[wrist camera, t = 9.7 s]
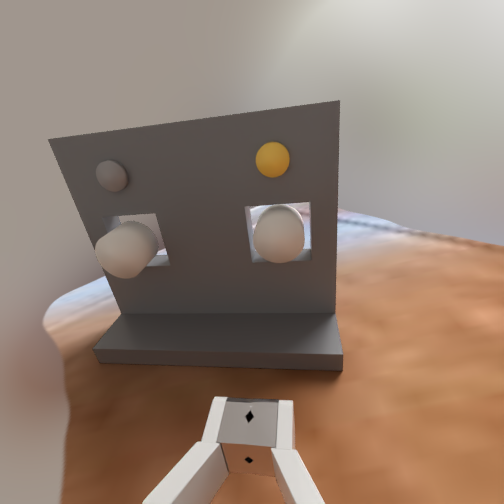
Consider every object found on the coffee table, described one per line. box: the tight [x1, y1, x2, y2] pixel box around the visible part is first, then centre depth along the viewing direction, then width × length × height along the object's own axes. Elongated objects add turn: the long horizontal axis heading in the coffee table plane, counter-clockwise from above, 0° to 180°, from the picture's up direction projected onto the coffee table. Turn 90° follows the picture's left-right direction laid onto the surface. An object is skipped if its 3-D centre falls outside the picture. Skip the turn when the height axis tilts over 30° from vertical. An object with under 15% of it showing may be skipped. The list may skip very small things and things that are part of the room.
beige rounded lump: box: [253, 204, 305, 263], centre depth 25 cm, size 3×4×4 cm
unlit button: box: [95, 221, 158, 279], centre depth 26 cm, size 3×4×4 cm
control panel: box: [48, 100, 343, 371], centre depth 25 cm, size 8×24×21 cm, turn 82°
